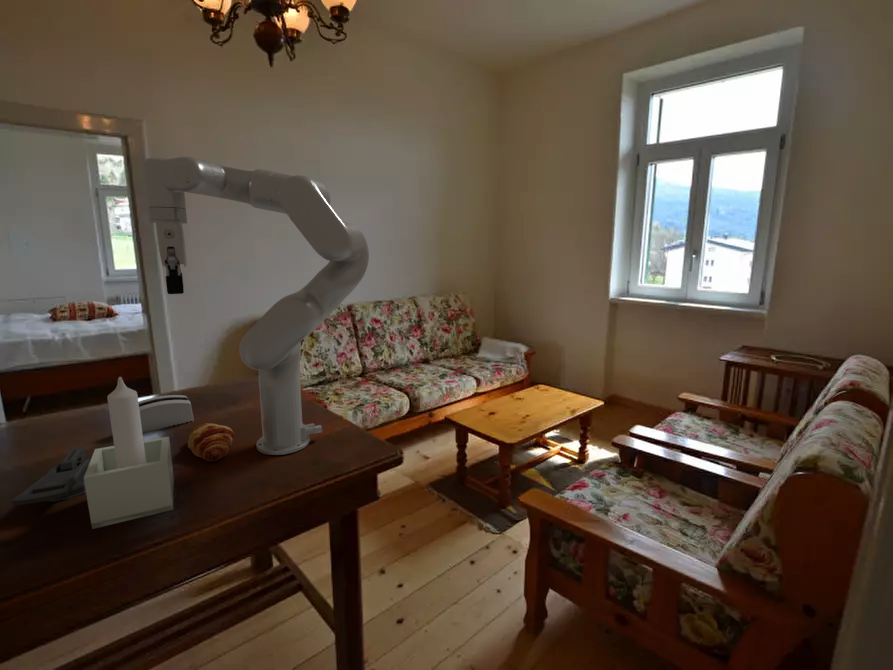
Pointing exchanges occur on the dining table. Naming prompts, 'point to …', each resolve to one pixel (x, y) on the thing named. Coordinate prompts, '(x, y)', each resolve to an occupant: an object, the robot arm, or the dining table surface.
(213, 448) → the croissant
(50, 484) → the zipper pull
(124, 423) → the candle
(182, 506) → the dining table surface
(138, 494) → the open square box
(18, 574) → the dining table surface
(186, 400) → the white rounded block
